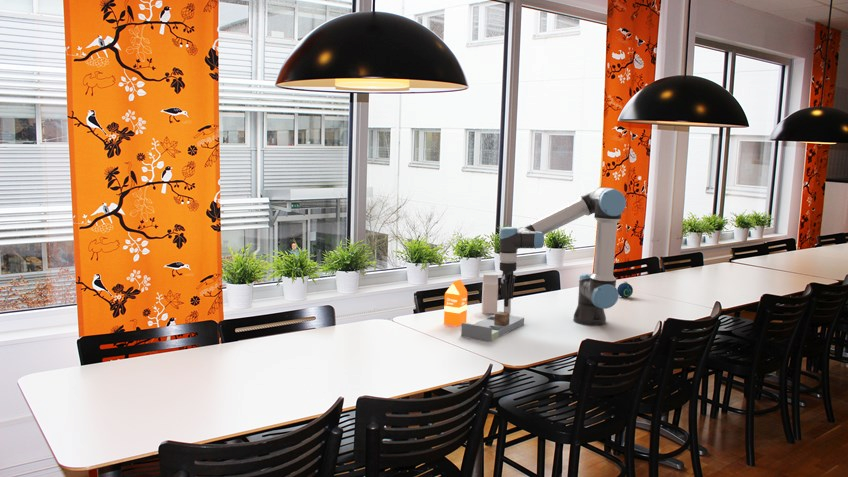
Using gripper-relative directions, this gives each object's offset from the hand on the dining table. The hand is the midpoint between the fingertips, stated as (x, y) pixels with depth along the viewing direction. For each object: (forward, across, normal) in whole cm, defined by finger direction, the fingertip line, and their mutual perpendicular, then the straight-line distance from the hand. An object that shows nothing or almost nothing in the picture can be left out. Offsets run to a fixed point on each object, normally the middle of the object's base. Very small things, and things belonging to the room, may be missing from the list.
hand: (507, 312), depth 300 cm
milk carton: (+8, -24, -20) cm, 32 cm away
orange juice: (+7, +4, -24) cm, 26 cm away
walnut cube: (+4, +4, -1) cm, 6 cm away
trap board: (+7, +5, -4) cm, 10 cm away
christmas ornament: (+10, -100, +27) cm, 104 cm away
